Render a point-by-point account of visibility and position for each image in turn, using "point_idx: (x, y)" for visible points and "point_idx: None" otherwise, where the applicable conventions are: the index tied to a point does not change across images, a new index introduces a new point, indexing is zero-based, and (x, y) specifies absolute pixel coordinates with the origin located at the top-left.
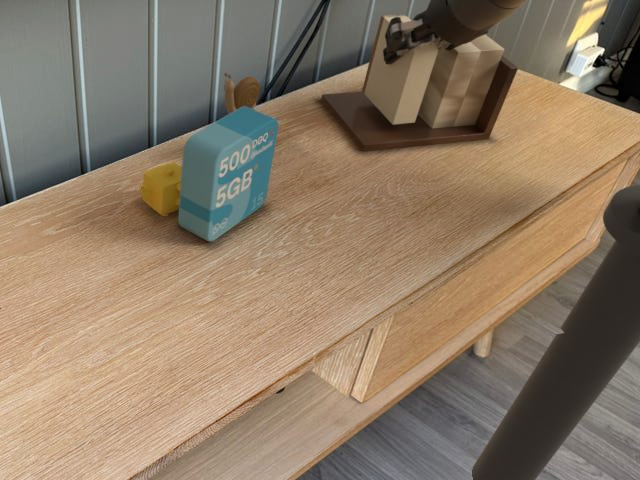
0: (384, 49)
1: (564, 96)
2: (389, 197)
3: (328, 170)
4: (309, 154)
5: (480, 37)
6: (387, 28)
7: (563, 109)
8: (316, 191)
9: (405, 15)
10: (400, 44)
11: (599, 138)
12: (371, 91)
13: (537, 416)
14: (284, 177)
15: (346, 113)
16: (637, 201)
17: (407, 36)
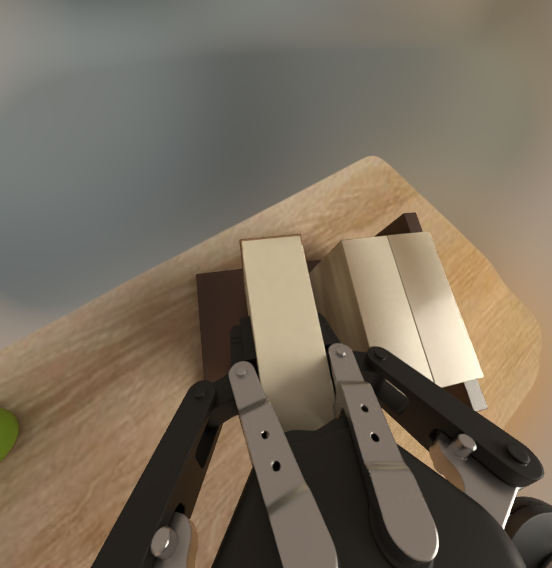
0: (230, 335)
1: (486, 274)
2: (205, 563)
3: (137, 481)
4: (125, 430)
5: (444, 316)
6: (152, 456)
7: (480, 303)
8: (91, 556)
9: (300, 241)
10: (234, 410)
11: (507, 371)
12: (247, 307)
13: None
14: (53, 511)
15: (212, 327)
16: (532, 565)
17: (243, 431)
